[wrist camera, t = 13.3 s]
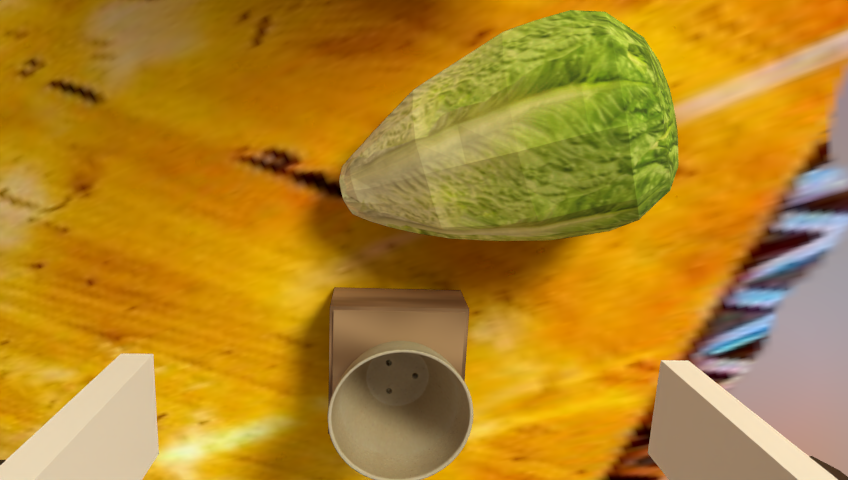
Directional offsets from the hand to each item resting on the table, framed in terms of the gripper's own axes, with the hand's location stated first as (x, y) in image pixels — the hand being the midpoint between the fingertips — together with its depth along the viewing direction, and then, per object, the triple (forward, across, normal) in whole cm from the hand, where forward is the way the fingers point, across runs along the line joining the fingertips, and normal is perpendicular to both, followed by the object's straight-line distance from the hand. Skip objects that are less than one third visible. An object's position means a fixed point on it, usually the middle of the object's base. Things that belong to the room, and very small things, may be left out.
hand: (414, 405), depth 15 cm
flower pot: (+30, +1, -13) cm, 32 cm away
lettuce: (+35, +8, +5) cm, 36 cm away
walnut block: (+35, +1, -13) cm, 37 cm away
